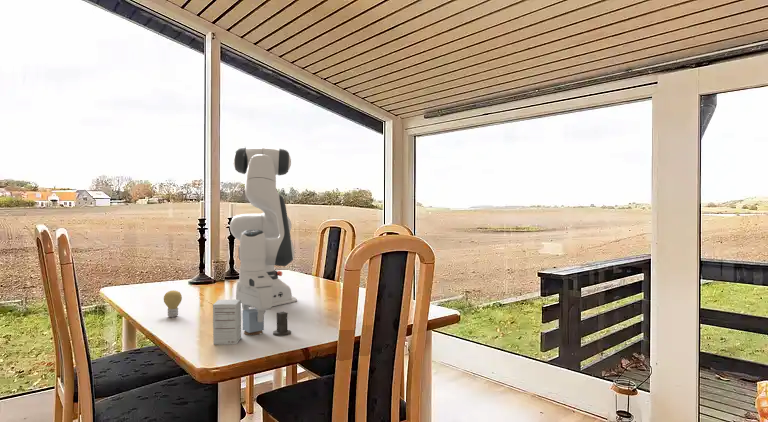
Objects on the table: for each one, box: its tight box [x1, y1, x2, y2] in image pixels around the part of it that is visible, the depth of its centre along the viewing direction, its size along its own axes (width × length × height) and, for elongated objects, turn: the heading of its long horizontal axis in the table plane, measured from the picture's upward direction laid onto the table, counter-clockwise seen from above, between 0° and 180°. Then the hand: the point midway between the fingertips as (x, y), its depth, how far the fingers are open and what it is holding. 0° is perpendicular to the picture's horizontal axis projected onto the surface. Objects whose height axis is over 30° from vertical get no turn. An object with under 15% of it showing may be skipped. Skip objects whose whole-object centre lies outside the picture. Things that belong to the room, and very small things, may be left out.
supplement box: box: [212, 299, 242, 345], centre depth 156 cm, size 7×7×13 cm
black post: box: [272, 311, 292, 337], centre depth 165 cm, size 6×6×7 cm
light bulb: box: [163, 289, 183, 318], centre depth 189 cm, size 6×6×10 cm
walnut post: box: [243, 330, 264, 336], centre depth 166 cm, size 6×6×7 cm
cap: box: [242, 308, 265, 333], centre depth 166 cm, size 5×5×7 cm
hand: (253, 319), depth 166 cm, fingers open, 8 cm apart
